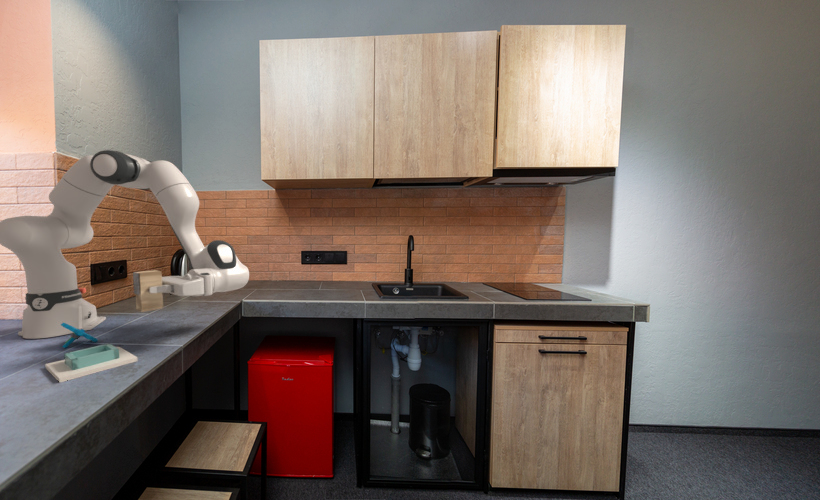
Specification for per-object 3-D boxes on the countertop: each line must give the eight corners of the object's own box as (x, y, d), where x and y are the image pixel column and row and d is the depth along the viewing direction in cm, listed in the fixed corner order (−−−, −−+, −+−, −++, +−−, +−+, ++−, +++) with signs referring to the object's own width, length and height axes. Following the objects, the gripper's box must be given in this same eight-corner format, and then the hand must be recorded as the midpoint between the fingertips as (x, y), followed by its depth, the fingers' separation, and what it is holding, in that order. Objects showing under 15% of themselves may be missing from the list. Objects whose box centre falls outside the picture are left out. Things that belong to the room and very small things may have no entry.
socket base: (45, 367, 78) (44, 354, 78) (119, 349, 90) (118, 338, 90) (59, 382, 71) (58, 367, 71) (137, 360, 83) (136, 348, 83)
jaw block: (134, 310, 89) (132, 272, 88) (157, 306, 94) (155, 270, 93) (139, 312, 87) (137, 273, 86) (163, 308, 92) (161, 271, 91)
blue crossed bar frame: (102, 339, 94) (65, 321, 88) (83, 358, 90) (43, 340, 85) (98, 336, 101) (64, 319, 96) (81, 353, 98) (44, 336, 92)
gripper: (183, 270, 106) (131, 275, 95) (213, 275, 96) (159, 281, 84) (183, 288, 107) (132, 295, 95) (214, 295, 96) (160, 304, 84)
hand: (145, 289), depth 89 cm, fingers closed on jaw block, 4 cm apart
